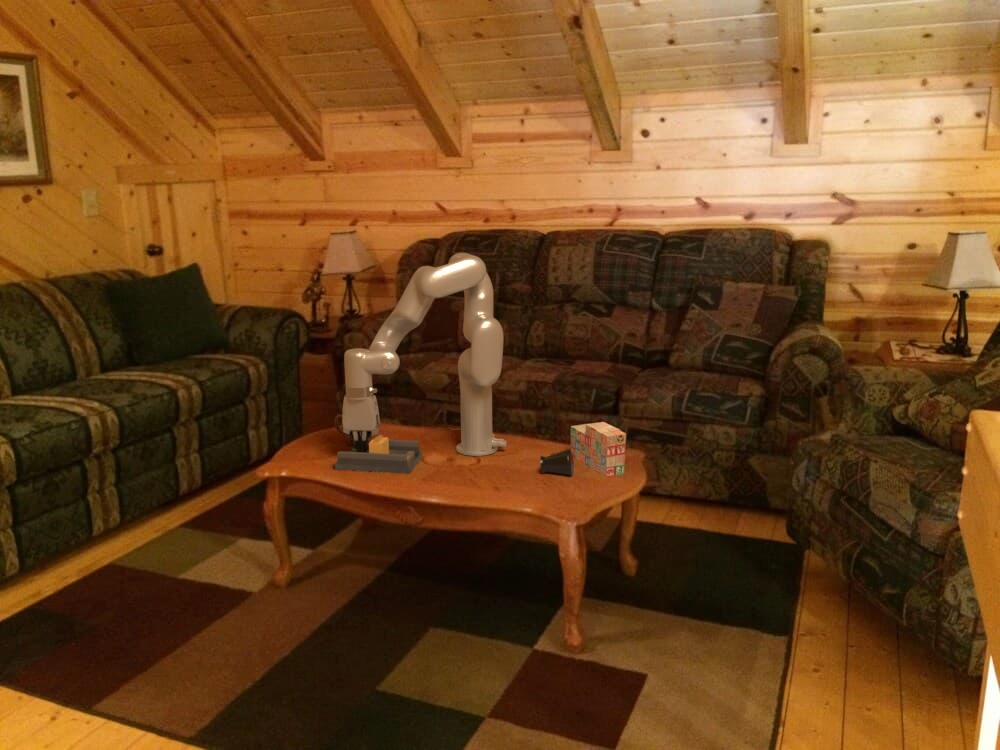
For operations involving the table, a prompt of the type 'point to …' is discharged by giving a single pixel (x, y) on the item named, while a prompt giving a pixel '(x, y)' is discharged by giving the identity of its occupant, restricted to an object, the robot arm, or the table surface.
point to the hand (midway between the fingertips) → (362, 452)
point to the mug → (350, 438)
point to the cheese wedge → (379, 445)
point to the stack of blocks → (599, 447)
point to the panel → (411, 463)
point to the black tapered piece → (558, 463)
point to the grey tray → (380, 455)
